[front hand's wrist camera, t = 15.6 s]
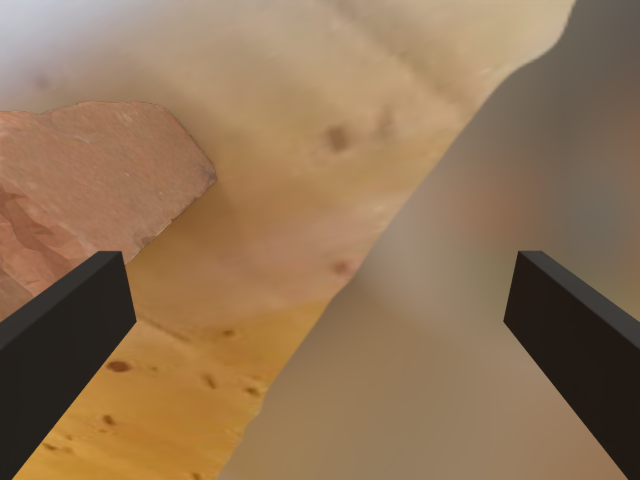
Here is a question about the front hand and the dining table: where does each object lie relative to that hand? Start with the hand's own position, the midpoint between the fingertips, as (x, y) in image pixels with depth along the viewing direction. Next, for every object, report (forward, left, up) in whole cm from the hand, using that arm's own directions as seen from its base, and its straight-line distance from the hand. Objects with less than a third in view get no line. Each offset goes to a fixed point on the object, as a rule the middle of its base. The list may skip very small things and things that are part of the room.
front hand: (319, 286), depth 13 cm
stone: (-19, +13, -34) cm, 41 cm away
